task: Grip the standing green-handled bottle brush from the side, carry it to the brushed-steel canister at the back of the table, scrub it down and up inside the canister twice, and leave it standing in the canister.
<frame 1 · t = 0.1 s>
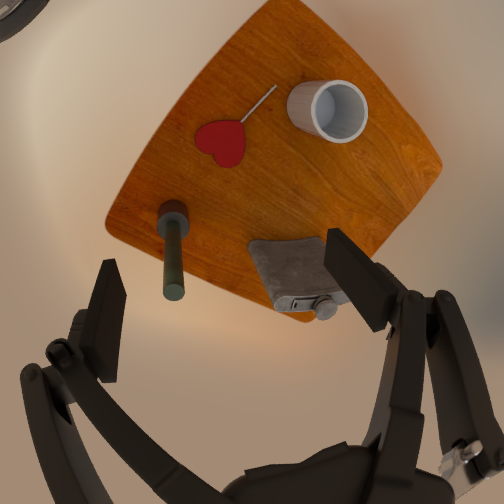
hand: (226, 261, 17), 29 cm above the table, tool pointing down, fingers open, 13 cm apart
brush: (173, 213, 44), on the table
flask: (285, 245, 53), on the table
canister: (312, 106, 40), on the table
lollipop: (241, 119, 40), on the table
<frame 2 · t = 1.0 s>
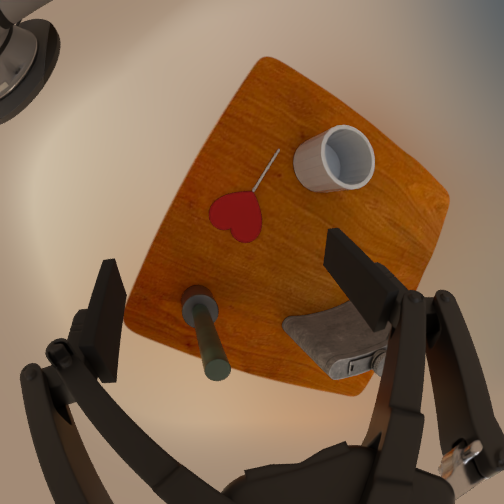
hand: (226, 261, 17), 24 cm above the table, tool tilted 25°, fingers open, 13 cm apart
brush: (197, 300, 41), on the table
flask: (320, 317, 47), on the table
canister: (318, 165, 43), on the table
lollipop: (252, 190, 42), on the table
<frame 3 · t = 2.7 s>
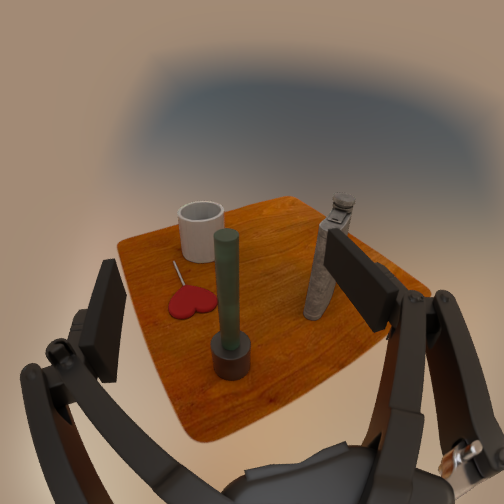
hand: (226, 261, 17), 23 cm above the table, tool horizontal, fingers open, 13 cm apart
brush: (231, 365, 36), on the table
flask: (323, 293, 48), on the table
canister: (203, 250, 58), on the table
lollipop: (184, 287, 49), on the table
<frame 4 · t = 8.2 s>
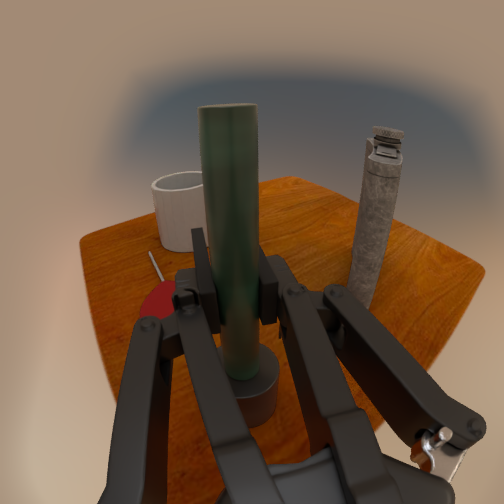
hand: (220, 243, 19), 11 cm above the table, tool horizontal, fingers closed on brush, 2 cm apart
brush: (244, 402, 20), on the table, touching gripper
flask: (361, 278, 33), on the table
canister: (189, 237, 43), on the table
lollipop: (164, 285, 33), on the table
when the fingers open (12 cm above the table, at t = 23.2 s): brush stays where it is, resting on canister.
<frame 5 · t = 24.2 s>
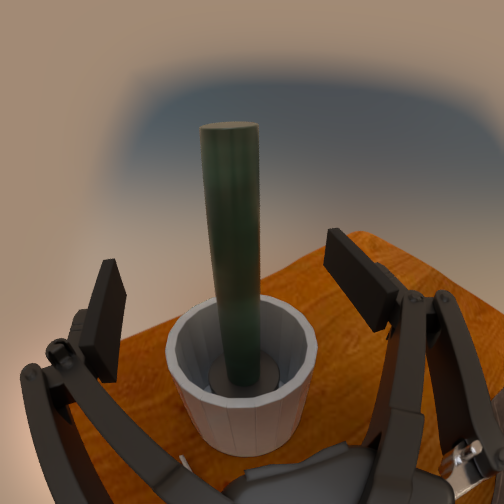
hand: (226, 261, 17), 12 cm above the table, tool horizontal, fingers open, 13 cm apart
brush: (246, 406, 20), point 1 cm above the table, touching canister
canister: (246, 409, 21), on the table
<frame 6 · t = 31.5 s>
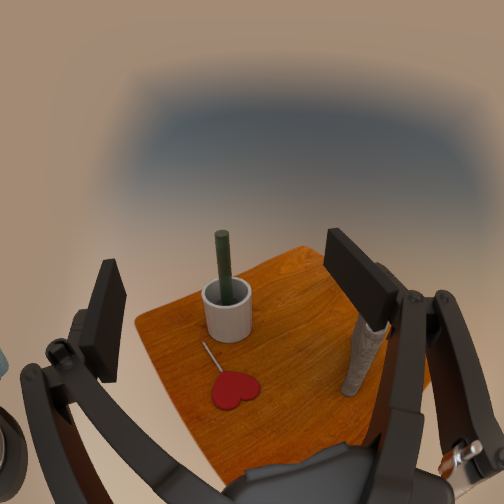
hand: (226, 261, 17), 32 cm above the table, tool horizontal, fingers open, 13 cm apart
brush: (229, 324, 55), point 1 cm above the table, touching canister
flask: (355, 365, 46), on the table
canister: (229, 326, 55), on the table
lollipop: (221, 372, 46), on the table
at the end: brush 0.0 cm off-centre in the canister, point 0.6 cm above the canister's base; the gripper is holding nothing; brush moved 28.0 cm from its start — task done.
